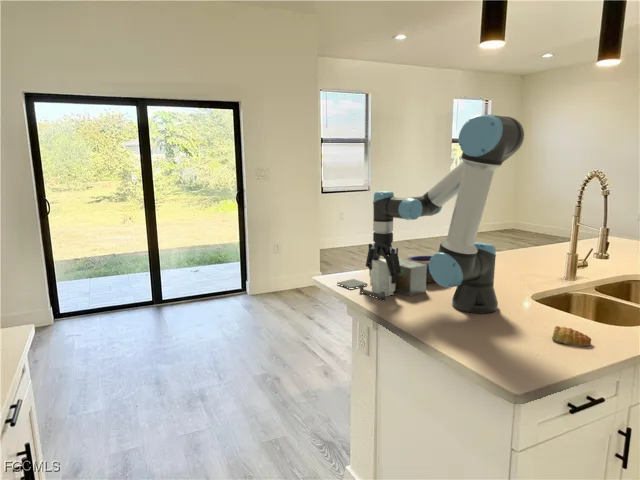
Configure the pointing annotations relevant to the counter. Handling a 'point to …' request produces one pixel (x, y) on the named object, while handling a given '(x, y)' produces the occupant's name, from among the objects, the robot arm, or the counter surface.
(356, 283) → the coaster
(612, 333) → the counter surface
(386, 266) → the small box
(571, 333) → the pastry
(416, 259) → the bowl
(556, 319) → the counter surface
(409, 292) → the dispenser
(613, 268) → the counter surface
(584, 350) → the counter surface
